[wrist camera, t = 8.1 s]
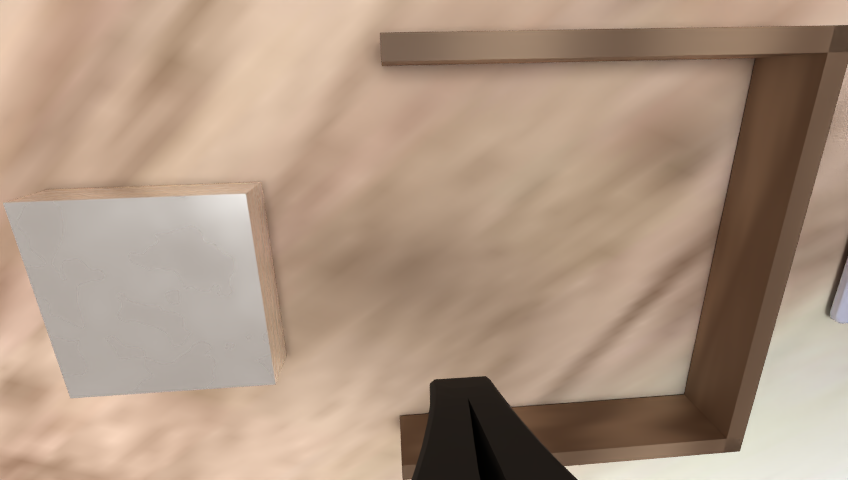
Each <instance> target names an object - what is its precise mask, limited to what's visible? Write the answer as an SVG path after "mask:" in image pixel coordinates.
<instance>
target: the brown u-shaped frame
mask: <svg viewBox="0 0 848 480" xmlns="http://www.w3.org/2000/svg"><path fill="white" fill-rule="evenodd" d="M380 44H381V62H382V66H392V65H440V64H488V63H536V62H583V61H631V60H679V59H727V58H756V59H755V64H754V69H753V74H752V78H751V83H750V88H749V92H748V97H747V102H746V106H745V111H744V116H743V121H742V125H741V130H740V135H739V139H738V144H737V149H736V154H735V158H734V163H733V168H732V172H731V177H730V182H729V186H728V191H727V196H726V201H725V205H724V210H723V215H722V219H721V224H720V229H719V234H718V238H717V243H716V248H715V252H714V257H713V262H712V267H711V271H710V276H709V281H708V285H707V290H706V295H705V299H704V304H703V309H702V314H701V318H700V323H699V328H698V332H697V337H696V342H695V347H694V351H693V356H692V361H691V365H690V370H689V375H688V379H687V384H686V389H685V394H684V395H672V396H658V397H645V398H632V399H618V400H605V401H592V402H579V403H565V404H552V405H539V406H525V407H512V409H513V410H514V411H515V413H516V414H517V415H518V416H519V418H520V419H521V420H522V421H523V422H524V424H525V425H526V426H527V427H528V428H529V429H530V430H531V431H532V433H533V434H534V435H535V436H536V437H537V438H538V439H539V440H540V442H541V443H542V444H543V445H544V446H545V447H546V448H547V449H548V450H549V451H550V452H551V453H552V455H553V456H554V457H555V458H556V459H557V460H558V461H559V462H560V463H561V464H562V465H563V466H572V465H584V464H595V463H607V462H619V461H631V460H643V459H654V458H666V457H678V456H690V455H701V454H713V453H725V452H737V451H740V449H741V445H742V442H743V438H744V434H745V431H746V427H747V424H748V420H749V416H750V413H751V409H752V406H753V402H754V399H755V395H756V391H757V388H758V384H759V381H760V377H761V373H762V370H763V366H764V363H765V359H766V355H767V352H768V348H769V345H770V341H771V337H772V334H773V330H774V327H775V323H776V319H777V316H778V312H779V309H780V305H781V301H782V298H783V294H784V291H785V287H786V283H787V280H788V276H789V273H790V269H791V265H792V262H793V258H794V255H795V251H796V247H797V244H798V240H799V237H800V233H801V230H802V226H803V222H804V219H805V215H806V212H807V208H808V204H809V201H810V197H811V194H812V190H813V186H814V183H815V179H816V176H817V172H818V168H819V165H820V161H821V158H822V154H823V150H824V147H825V143H826V140H827V136H828V132H829V129H830V125H831V122H832V118H833V114H834V111H835V107H836V104H837V100H838V96H839V93H840V89H841V86H842V82H843V78H844V75H845V71H846V68H847V64H848V25H838V26H775V27H711V28H648V29H584V30H521V31H458V32H394V33H380ZM428 415H429V414H419V415H405V416H400V429H401V453H402V476H403V480H407V479H412V476H413V473H414V470H415V467H416V464H417V461H418V458H419V454H420V451H421V447H422V443H423V439H424V435H425V430H426V426H427V421H428Z"/></svg>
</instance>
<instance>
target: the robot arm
mask: <svg viewBox="0 0 848 480" xmlns="http://www.w3.org/2000/svg"><path fill="white" fill-rule="evenodd" d="M830 317H831V318H832V319H833V320H835V321H837V322H839V323H848V258H847V261H846V264H845V267H844V270H843V273H842V277H841V280H840V283H839V286H838V289H837V292H836V295H835V298H834V301H833V304H832V308H831V311H830ZM412 480H577V479H576V478H575V477H574V476H573V475H572V474H571V473H570V472H569V471H568V470H567V469H566V468H565V467H564V466H563V465H562V464H561V463H560V462H559V461H558V460H557V459H556V458H555V457H554V456H553V455H552V453H551V452H550V451H549V450H548V449H547V448H546V447H545V446H544V445H543V444H542V443H541V442H540V440H539V439H538V438H537V437H536V436H535V435H534V434H533V433H532V431H531V430H530V429H529V428H528V427H527V426H526V425H525V424H524V422H523V421H522V420H521V419H520V418H519V416H518V415H517V414H516V413H515V411H514V410H513V409H512V408H511V407H510V405H509V404H508V403H507V402H506V400H505V399H504V398H503V396H502V395H501V394H500V392H499V391H498V390H497V388H496V387H495V386H494V384H493V383H492V382H491V380H490V379H489V378H487V377H486V376H483V377H467V378H452V379H436V380H434V381H433V382H432V383H430V409H429V415H428V421H427V426H426V430H425V435H424V439H423V443H422V447H421V451H420V454H419V458H418V461H417V464H416V467H415V470H414V473H413V476H412Z"/></svg>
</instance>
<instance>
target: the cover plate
mask: <svg viewBox="0 0 848 480" xmlns="http://www.w3.org/2000/svg"><path fill="white" fill-rule="evenodd" d="M3 204H4V207H5V210H6V213H7V216H8V219H9V222H10V225H11V228H12V230H13V233H14V236H15V239H16V242H17V245H18V248H19V251H20V254H21V257H22V259H23V262H24V265H25V268H26V271H27V274H28V277H29V280H30V283H31V286H32V288H33V291H34V294H35V297H36V300H37V303H38V306H39V309H40V312H41V314H42V317H43V320H44V323H45V326H46V329H47V332H48V335H49V338H50V341H51V343H52V346H53V349H54V352H55V355H56V358H57V361H58V364H59V367H60V369H61V372H62V375H63V378H64V381H65V384H66V387H67V390H68V393H69V396H70V398H82V397H96V396H111V395H126V394H141V393H156V392H170V391H185V390H200V389H215V388H230V387H244V386H259V385H274V384H276V382H277V380H278V377H279V374H280V371H281V369H282V366H283V363H284V361H285V358H286V348H285V341H284V334H283V327H282V321H281V314H280V307H279V300H278V293H277V286H276V279H275V272H274V265H273V258H272V252H271V245H270V238H269V231H268V224H267V217H266V210H265V203H264V196H263V189H262V183H261V182H242V183H214V184H185V185H157V186H129V187H100V188H72V189H47V190H44V191H40V192H37V193H34V194H30V195H27V196H24V197H20V198H17V199H14V200H10V201H7V202H4V203H3Z"/></svg>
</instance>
